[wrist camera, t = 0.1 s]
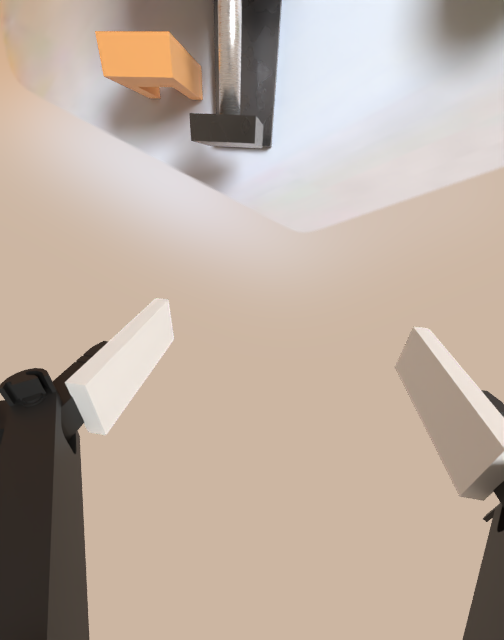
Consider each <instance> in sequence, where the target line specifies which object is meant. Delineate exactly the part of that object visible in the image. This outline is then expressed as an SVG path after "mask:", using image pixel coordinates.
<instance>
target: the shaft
mask: <svg viewBox="0 0 504 640" xmlns="http://www.w3.org/2000/svg"><path fill="white" fill-rule="evenodd" d="M241 35H242V0H218V52H219V114H194V113H190V128H191V141H194V142H198V143H202V144H205V145H209V146H226V147H247V148H262V142H263V124H262V123H261V122H260V120H259V119H258V118H257V116H252V115H240V92H241Z"/></svg>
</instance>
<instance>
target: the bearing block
mask: <svg viewBox="0 0 504 640" xmlns="http://www.w3.org/2000/svg"><path fill="white" fill-rule="evenodd" d="M281 6H282V0H242V35H241V92H240V115H252V116H257V118H258V119H259V120H260V122H261V123H262V124H263V142H262V147H271V145H272V131H273V117H274V103H275V89H276V75H277V61H278V47H279V33H280V20H281ZM214 24H215V71H216V114H219V52H218V0H214Z"/></svg>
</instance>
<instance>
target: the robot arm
mask: <svg viewBox="0 0 504 640" xmlns="http://www.w3.org/2000/svg"><path fill="white" fill-rule="evenodd" d="M173 340H174V334H173V327H172V320H171V313H170V306H169V300H168V299H159V298H155V299H154V300H153V301H152V302H151V303H150V304H149V305H148V306H147V307H146V308H145V309H143V310H142V311H141V312H140V313H139V314H138V315H137V316H136V317H135V318H134V319H133V320H131V321H130V322H129V323H128V324H127V325H126V326H125V327H124V328H123V329H122V330H121V331H120V332H119V333H117V334H116V335H115V336H114V337H113V338H112V339H111V340H110V341H109V342H107V341H103V342H101V343H99V344H97V345H95V346H93V347H92V348H90V349H89V350H88V351H87V352H86V353H85V354H84V356H81V357H80V358H79V359H78V360H77V362H74V363H73V364H72V365H71V366H70V367H69V368H68V369H67V370H65V371H64V372H63V373H62V374H61V375H60V376H59V377H57V378H56V379H55V380H54V381H53V382H52V380H51V378H50V376H49V374H48V372H47V371H46V370H44V369H38V368H34V369H28V370H24V371H21V372H19V373H16V374H14V375H12V376H10V377H9V378H7V379H6V380H5V381H4V382H2V383H1V385H0V393H1V395H2V396H3V397H4V399H5V400H3V401H0V640H89V626H88V625H89V624H88V602H87V582H86V561H85V540H84V519H83V498H82V478H81V458H80V436H79V433H78V431H77V430H78V429H79V428H80V427H81V426H82V424H83V423H84V424H85V426H86V428H87V430H88V432H91V433H96V434H103V435H106V434H107V433H108V432H109V430H110V429H111V427H112V426H113V425H114V423H115V422H116V420H117V419H118V417H119V416H120V415H121V413H122V412H123V411H124V409H125V408H126V406H127V405H128V403H129V402H130V401H131V399H132V398H133V396H134V395H135V393H136V392H137V391H138V389H139V388H140V387H141V385H142V384H143V382H144V381H145V380H146V378H147V377H148V375H149V374H150V373H151V371H152V370H153V368H154V367H155V366H156V364H157V362H158V361H159V360H160V358H161V357H162V355H163V354H164V353H165V351H166V350H167V349H168V347H169V346H170V344H171V343H172V341H173ZM395 369H396V371H397V373H398V375H399V377H400V379H401V381H402V382H403V385H404V386H405V388H406V391H407V393H408V395H409V397H410V398H411V401H412V403H413V405H414V407H415V409H416V411H417V412H418V414H419V416H420V418H421V420H422V422H423V424H424V426H425V428H426V430H427V432H428V434H429V436H430V438H431V440H432V442H433V444H434V446H435V448H436V450H437V452H438V454H439V456H440V458H441V460H442V462H443V464H444V466H445V468H446V470H447V472H448V474H449V476H450V478H451V480H452V482H453V484H454V486H455V488H456V490H457V492H458V494H459V496H460V497H466V498H472V499H478V500H485V499H486V498H487V497H488V496H489V495H490V494H491V493H492V492H495V494H496V495H497V497H498V499H499V501H500V502H501V503H500V504H499V505H498V506H496V507H495V508H494V509H493V510H491V511H490V512H489V513H488V514H487V515H486V516H485V517H484V518H483V519H484V520H485V521H486V522H488V521H489V520H490V519H491V518H493V520H492V523H491V527H490V532H489V536H488V540H487V544H486V548H485V552H484V556H483V560H482V564H481V568H480V572H479V576H478V580H477V584H476V588H475V592H474V596H473V600H472V604H471V608H470V612H469V616H468V621H467V625H466V628H465V632H464V636H463V640H504V404H503V403H502V402H501V401H500V400H498V399H497V398H496V397H494V396H493V395H492V394H490V393H489V392H488V391H483V390H480V389H479V387H478V386H477V385H476V384H475V383H474V381H473V380H472V379H471V378H470V377H469V376H468V374H467V373H466V372H465V371H464V370H463V368H462V367H461V366H460V365H459V364H458V362H457V361H456V360H455V359H454V358H453V356H452V355H451V354H450V353H449V352H448V350H447V349H446V348H445V347H444V346H443V344H442V343H441V342H440V341H439V340H438V339H437V337H436V336H435V335H434V334H433V333H432V331H431V330H430V329H428V328H420V327H413V329H412V331H411V333H410V335H409V337H408V340H407V342H406V344H405V346H404V349H403V351H402V353H401V355H400V357H399V360H398V362H397V364H396V366H395Z"/></svg>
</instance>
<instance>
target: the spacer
mask: <svg viewBox="0 0 504 640" xmlns="http://www.w3.org/2000/svg"><path fill="white" fill-rule="evenodd" d="M95 33H96V38H97V43H98V49H99V54H100V59H101V64H102V69H103V75H104V77H106V78H108V79H111V80H113V81H115V82H117V83H119V84H121V85H123V86H125V87H127V88H129V89H131V90H133V91H135V92H137V93H139V94H141V95H144V96H146V97H148V98H154V99H161V97H160V88H159V87H173V88H174V89H176V90H177V91H179V92H180V93H182V94H183V95H185V96H186V97H188V98H189V99H191V100H203V97H202V74H201V66H200V65H199V64H198V63H197V62H196V61H195V59H194V58H193V57H192V56H191V55H190V54H189V53H188V52H187V51H186V50H185V49H184V47H183V46H182V45H181V44H180V43H179V42H178V41H177V40H176V39H175V38H174V37H173V35H172V34H171V33H170V32H169V31H95Z"/></svg>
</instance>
